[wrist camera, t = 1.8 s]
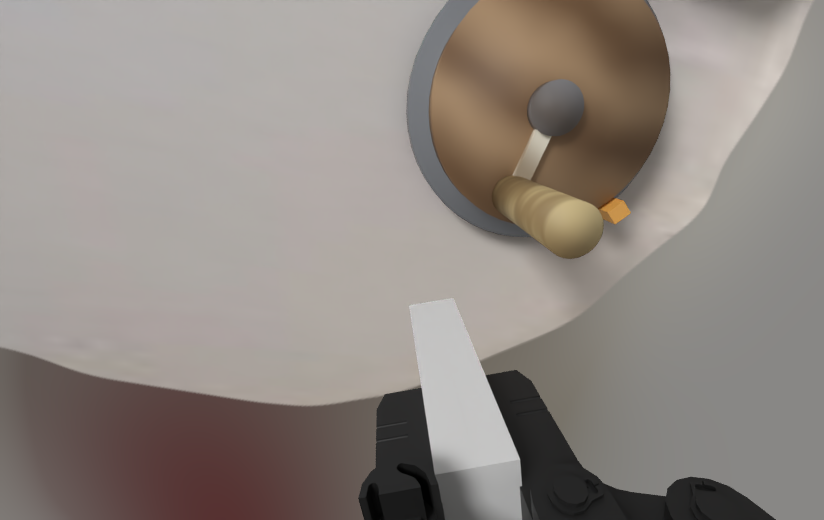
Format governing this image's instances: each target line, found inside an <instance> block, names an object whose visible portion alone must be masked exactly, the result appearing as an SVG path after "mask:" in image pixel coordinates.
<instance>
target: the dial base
mask: <svg viewBox="0 0 824 520" xmlns="http://www.w3.org/2000/svg"><path fill="white" fill-rule="evenodd" d="M478 1H479V0H449V1H448V2H447V3H446V5H445V6H444V7H443V9H442V10H441V11H440V13H439V14H438V15H437V17H436V18H435V20H434V22H433V23H432V25H431V27H430V29H429V30H428V32H427V34H426V36H425V38H424V40H423V42H422V44H421V46H420V49H419V51H418V54H417V56H416V58H415V62H414V65H413V69H412V72H411V76H410V81H409V87H408V93H407V125H408V133H409V138H410V143H411V147H412V150H413V153H414V156H415V159H416V162H417V164H418V166H419V168H420V170H421V172H422V174H423V176H424V178H425V179H426V181H427V182H428V184H429V185H430V186H431V188H432V189H433V191H434V192H435V193H436V195H437V196H438V197H439V198H440V199H441V200H442V201H443V202H444V204H445V205H446V206H447V207H449V208H450V209H451V210H452V211H453V212H455V213H456V214H457V215H458V216H460V217H461V218H463V219H464V220H466V221H468V222H469V223H471V224H473V225H475V226H477V227H479V228H482V229H484V230H487V231H490V232H493V233H497V234H501V235H508V236H516V237H532V236H530V235H529V234H528V233H526V232H525V231H524V230H522V229H521V228H520V227H519V226H517V225H516V224H512V223H509V222H506V221H503V220H500V219H497V218H495V217H493V216H491V215H489V214H487V213H485V212H484V211H482V210H481V209H479V208H478V207H476V206H475V205H474V204H473V203H471V202H470V201H469V200H468V199H467V198H466V197H465V196H464V195H462V194H461V193H460V192H459V191H458V189H457V188H456V187H455V186H454V185H453V184H452V183H451V181H450V180H449V178H448V177H447V175H446V174H445V172H444V170H443V168H442V166H441V164H440V162H439V160H438V158H437V155H436V152H435V149H434V146H433V143H432V138H431V133H430V126H429V96H430V90H431V84H432V79H433V76H434V72H435V69H436V66H437V63H438V60H439V58H440V56H441V53H442V51H443V49H444V47H445V45H446V43H447V42H448V40H449V38H450V36H451V35H452V33H453V31H454V30H455V29H456V28H457V26H458V25H459V24H460V22H461V21H462V20H463V18H464V17H465V16H466V15H467V13H468V12H469V11H470V9H471V8H472V7H473V6H474V5H475V4H476V3H477V2H478ZM644 1H645V2H646V4H647V5H648V6H649V8H650V9H651V11H652V12H653V10H652V8H651V6H650V4H649V3H648V1H647V0H644ZM653 14H654V16H655V18H656V20H657V17H656V15H655V13H654V12H653ZM657 21H658V20H657ZM658 23H659V22H658ZM659 26H660V25H659ZM661 31H662V30H661ZM662 34H663V33H662ZM643 165H644V164H643ZM641 168H642V167H641ZM639 171H640V170H639ZM639 171H638V172H639ZM637 174H638V173H637ZM637 174H636V175H637ZM636 175H635V176H636ZM635 176H634V178H635ZM634 178H633V179H634ZM633 179H632V180H633ZM632 180H631V181H632ZM631 181H630V182H629V183H628V184H627V185H626V186H625V187H624V188H623V189H622V190H621V191H620V192H619V193H618V194H617V195H616V196H614V197H613V198H612V199H611V200H609V201H608V202H607V203H605V204H604V205H602V206H601V207H599V208H598V210H599V211H600V213H601V215H602V218H603V219H604V220H606V221H608V222H611V223H613V224H616V223H618V222H619V221H621V220H622V219H623V218H625V217H626V216H628V215H629V214H630V213H631V212H630V210H629V209H628V207H627V205H626V204H625V202H624V201H623V200H620V199H616V198H617V197H618V196H619V195H620V194H621V193H622V192H623V191H624V190H625V189H626V188H627V186H628V185H629V184H630V183H631Z"/></svg>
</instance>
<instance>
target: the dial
mask: <svg viewBox="0 0 824 520" xmlns="http://www.w3.org/2000/svg"><path fill="white" fill-rule="evenodd" d="M669 93H670V65H669V56H668V51H667V47H666V43H665V39H664V36H663V34H662V31H661V28H660V26H659V23H658V21H657V20H656V18H655V16H654V14H653V12H652V11H651V9H650V8H649V6H648V5H647V4H646V2H645V1H644V0H479V1H478V2H477V3H476V4H475V5H474V6H473V7H472V8H471V9H470V11H469V12H468V13H467V15H466V16H465V17H464V18H463V20H462V21H461V22H460V24H459V25H458V26H457V28H456V29H455V30H454V31H453V33H452V35H451V36H450V38H449V40H448V42H447V43H446V45H445V47H444V49H443V51H442V53H441V56H440V58H439V60H438V63H437V66H436V69H435V72H434V76H433V79H432V84H431V90H430V96H429V126H430V133H431V138H432V143H433V146H434V149H435V152H436V155H437V158H438V160H439V162H440V164H441V166H442V168H443V170H444V172H445V174H446V175H447V177H448V178H449V180H450V181H451V183H452V184H453V185H454V186H455V187H456V188H457V189H458V191H459V192H460V193H461V194H462V195H464V196H465V197H466V198H467V199H468V200H469V201H470V202H471V203H473V204H474V205H475V206H476V207H478V208H479V209H481V210H482V211H484V212H485V213H487V214H489V215H491V216H493V217H495V218H497V219H500V220H503V221H506V222H509V223H512V224H516V225H517V226H519V227H520V228H521V229H522V230H524V231H525V232H526V233H528V234H529V235H530V236H532V237H533V238H534V239H536V240H537V241H538V242H540V243H541V244H542V245H544V246H545V247H546V248H547V249H549V250H550V251H551V252H553V253H554V254H556V255H557V256H559V257H562V258H567V259H572V258H578V257H581V256H583V255H585V254H587V253H588V252H590V251H591V250H592V249H593V248H594V247H595V246H596V245H597V243H598V242H599V240H600V238H601V236H602V233H603V226H604V225H603V218H602V215H601V213H600V211H599V210H598V208H599V207H601V206H602V205H604V204H605V203H607V202H608V201H609V200H611V199H612V198H613V197H614V196H616V195H617V194H618V193H619V192H620V191H621V190H622V189H623V188H624V187H625V186H626V185H627V184H628V183H629V182H630V181H631V180H632V179H633V178H634V176H635V175H636V174H637V173H638V171H639V170H640V169H641V167H642V166H643V164H644V163H645V161H646V160H647V158H648V156H649V155H650V153H651V151H652V149H653V147H654V145H655V143H656V141H657V139H658V136H659V134H660V131H661V128H662V126H663V123H664V119H665V115H666V111H667V107H668V100H669Z"/></svg>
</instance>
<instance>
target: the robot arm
mask: <svg viewBox="0 0 824 520" xmlns="http://www.w3.org/2000/svg"><path fill="white" fill-rule="evenodd" d="M409 308H410V315H411V321H412V328H413V334H414V341H415V348H416V354H417V361H418V367H419V374H420V381H421V387H422V388H418V389H412V390H407V391H401V392H395V393H390V394H385V395H384V397H383V399H382V401H381V403H380V405H379V407H378V408H377V430H376V441H377V443H376V468H375V469H374V470H373V471H371V472H370V474H369V475H368V477H367V478H366V480H365V481H364V482H363V484H362V487H361V491H360V495H359V498H358V499H359V503H360V506H361V509H362V513H363V517H364V520H776V519H774V518H773V517H772V516H770V515H769V514H768V513H766V512H765V511H764V510H763V509H761V508H760V507H759V506H757V505H756V504H755V503H753V502H752V501H751V500H749V499H748V498H747V497H745V496H744V495H742V494H740V493H739V492H737V491H735V490H734V489H732V488H730V487H729V486H727V485H724V484H721V483H718V482H716V481H713V480H710V479H705V478H696V477H688V478H684V479H679V480H676V481H675V482H674V483H673V484H672V485H671V486H670V487H669V488H668V489H667V495H666V496H658V495H650V494H641V493H634V492H628V491H623V490H619V489H615V488H613V487H611V486H608V485H606V484H604V483H602V481H601V480H600V479H599V478H598V477H597V476H595V475H594V474H592V473H591V472H589V471H588V470H586V469H584V468H583V467H582V465H581V464H580V463H579V461H578V460H577V458H576V457H575V455H574V453H573V451H572V450H571V448H570V446H569V445H568V443H567V441H566V440H565V438H564V436H563V434H562V433H561V431H560V430H559V428H558V426H557V424H556V423H555V421H554V419H553V418H552V416H551V414H550V412H549V411H548V410H547V407H546V405H545V404H544V402H543V400H542V399H541V398H540V395H539V393H538V392H537V390H536V389H535V387H534V385H533V383H532V381H531V380H529V379H528V378H526V377H525V376H523V375H522V374H521V373H520V372H518V371H517V370H514V371H508V372H502V373H496V374H491V375H485V374H484V371H483V369H482V366H481V364H480V361H479V359H478V357H477V354H476V352H475V349H474V347H473V345H472V342H471V340H470V337H469V335H468V333H467V330H466V328H465V325H464V323H463V320H462V318H461V316H460V313H459V311H458V308H457V306H456V304H455V301H454V299H453V298H449V299H443V300H437V301H431V302H426V303H420V304H414V305H409Z"/></svg>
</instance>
